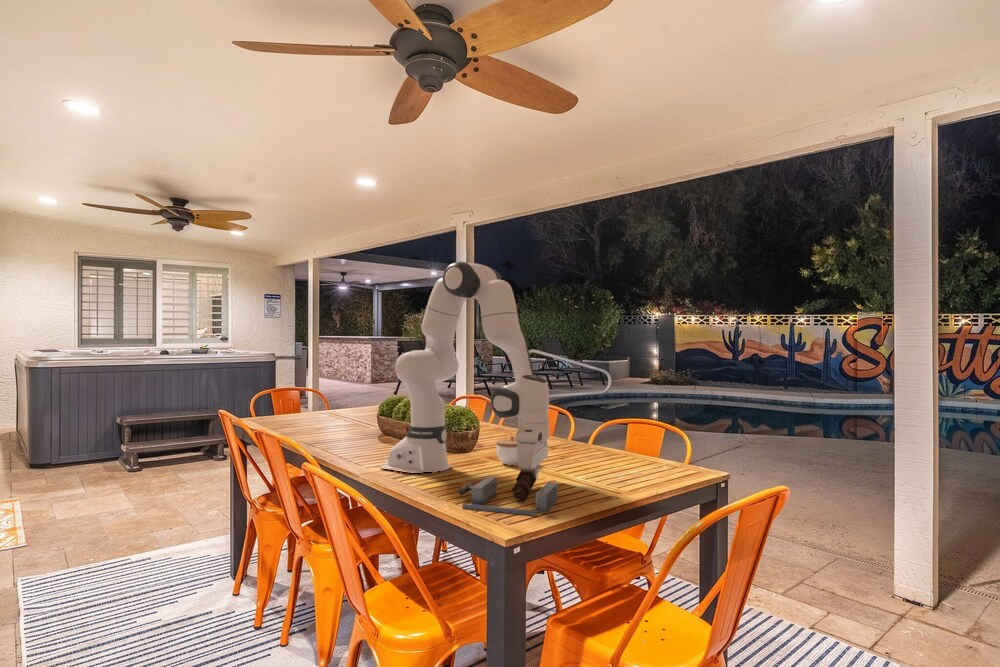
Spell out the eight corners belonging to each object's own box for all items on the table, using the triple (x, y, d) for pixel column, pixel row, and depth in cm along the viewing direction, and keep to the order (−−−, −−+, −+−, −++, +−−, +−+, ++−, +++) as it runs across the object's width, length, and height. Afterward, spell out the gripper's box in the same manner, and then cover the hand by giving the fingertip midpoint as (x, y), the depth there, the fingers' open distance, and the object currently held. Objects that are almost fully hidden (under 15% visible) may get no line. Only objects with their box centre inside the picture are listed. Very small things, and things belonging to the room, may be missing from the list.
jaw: (454, 503, 145) (454, 485, 145) (471, 491, 156) (471, 475, 156) (482, 506, 143) (482, 488, 143) (497, 493, 154) (497, 477, 154)
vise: (462, 508, 141) (462, 489, 141) (483, 493, 155) (483, 476, 155) (543, 516, 134) (543, 497, 135) (557, 500, 148) (557, 482, 148)
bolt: (516, 509, 146) (523, 491, 161) (532, 500, 146) (539, 483, 160) (505, 489, 147) (513, 473, 162) (521, 480, 146) (528, 465, 161)
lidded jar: (494, 466, 188) (494, 438, 188) (498, 459, 198) (498, 433, 198) (526, 467, 186) (526, 439, 187) (528, 460, 197) (528, 433, 197)
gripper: (532, 425, 174) (532, 470, 173) (513, 436, 154) (513, 487, 154) (552, 426, 172) (552, 472, 171) (535, 438, 152) (535, 489, 152)
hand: (534, 479), depth 163 cm, fingers closed
